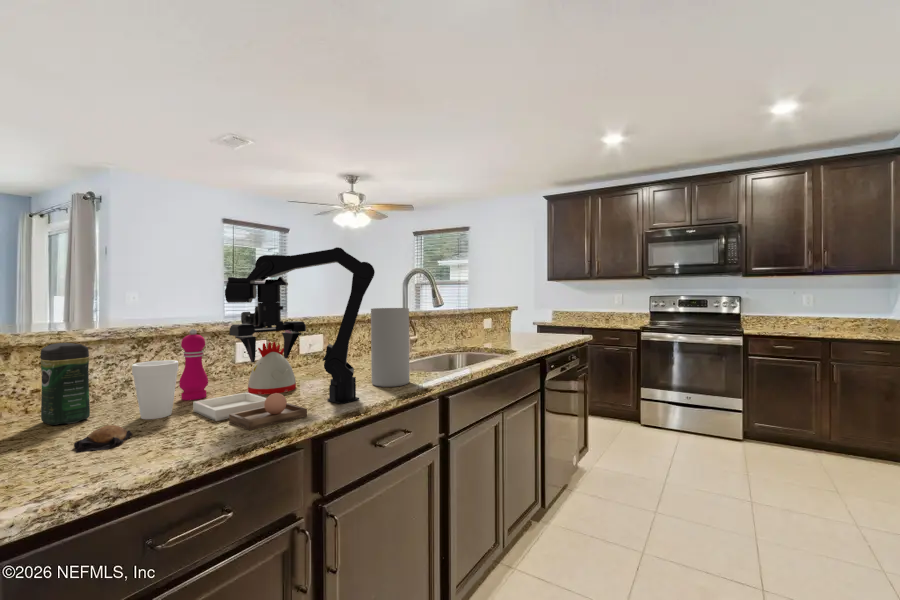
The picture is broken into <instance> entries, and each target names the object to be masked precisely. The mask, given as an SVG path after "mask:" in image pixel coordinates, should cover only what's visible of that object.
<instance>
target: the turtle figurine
mask: <svg viewBox="0 0 900 600" xmlns="http://www.w3.org/2000/svg"><path fill="white" fill-rule="evenodd" d="M132 436H133V431H131V430H126V429H125V428H123V427H121V426H119V425H116V424H115V425H114V424H111V425H110V424H109V425H108V424H107V425H105V426H102V427H99V428H97V429H95V430H93V431H92V432H90V433H89V434H88V435H87V436H86V437H84V438H83V439H79V440H77V441H76V442H74V443H73V448H74V452H75V453H76V454H77V453H78V454H79V453H87V452H99V451H100V452H101V451H106V450H111V449H115V448H119V447H121V446H122V445H123V444H125V443H126V442H127V441H128V440H129V439H131V438H132Z"/></svg>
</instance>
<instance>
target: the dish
mask: <svg viewBox="0 0 900 600" xmlns="http://www.w3.org/2000/svg"><path fill="white" fill-rule="evenodd" d="M266 398H267V397H264V396H261V395H259V394H251V393H249V392H248V391H247V392H241V393H236V394H231V395H223V396H217V397H213V398H212V397H211V398H207V399H199V400H194V401H192V402H193V405H192V408H193V409H192V410H193V411H192V412H193V413H196V414H198V415H201V416H203V417H205V418H207V419H210V420H212V421H214V422H218V421H223V420H227V419H229V414H233V413H238V412H243V411H247V410H252V409H257V408H262V407H264V403H265V400H266Z"/></svg>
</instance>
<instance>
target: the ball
mask: <svg viewBox="0 0 900 600" xmlns="http://www.w3.org/2000/svg"><path fill="white" fill-rule="evenodd" d="M265 398H266V400H265V403H264V407H265V410H266V411H267V412H268V413H270V414H273V415H275V414H279V413H281V412H283V411H284V409H285V408H286V404H287V403H288V402H287V399H286V396H284V395H283V393H274V394H268V396H267V397H265Z"/></svg>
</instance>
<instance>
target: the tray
mask: <svg viewBox="0 0 900 600" xmlns="http://www.w3.org/2000/svg"><path fill="white" fill-rule="evenodd" d="M304 417H305V418H306V417H308V409H307V408H305V407H303V406H302V407H301V406H299V405H295V404H292V403H289V402H287V404H286V408H285V409H284V411H283V412H281V413H279V414H275V415H273V414H270V413H268V412H267V411H266V410H265V407H262V408H257V409H252V410H247V411H243V412H238V413H233V414H229V418H228V419H229V421H228V422H229V423H231V424H234V425H236V426H238V427H241V428H243V429H245V430H247V431H252V430H256V429H261V428H264V427H268V426H273V425H277V424H281V423H286V422H289V421H293V420H298V419H301V418H304Z"/></svg>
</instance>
